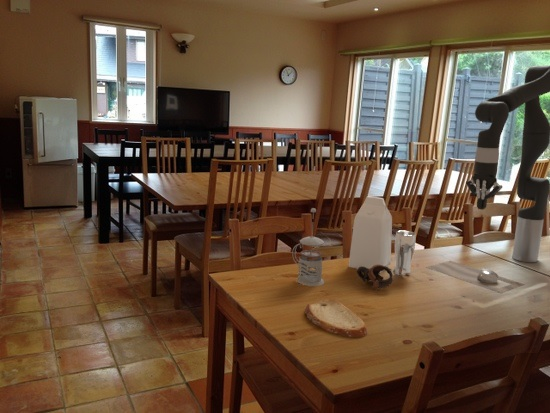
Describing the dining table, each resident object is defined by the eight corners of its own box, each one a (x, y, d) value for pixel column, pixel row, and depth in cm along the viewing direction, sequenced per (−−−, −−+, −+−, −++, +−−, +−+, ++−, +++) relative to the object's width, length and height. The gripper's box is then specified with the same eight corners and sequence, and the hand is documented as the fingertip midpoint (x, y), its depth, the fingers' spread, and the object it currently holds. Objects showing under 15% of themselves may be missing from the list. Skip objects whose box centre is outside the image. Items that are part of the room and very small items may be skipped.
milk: (390, 265, 184) (396, 197, 179) (379, 273, 175) (385, 202, 170) (360, 259, 191) (365, 193, 185) (348, 266, 181) (353, 197, 176)
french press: (315, 288, 158) (320, 212, 153) (285, 280, 164) (288, 207, 159) (329, 280, 166) (333, 207, 161) (299, 272, 172) (302, 203, 167)
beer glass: (410, 271, 179) (414, 231, 176) (413, 277, 172) (417, 236, 169) (391, 269, 179) (394, 230, 176) (393, 276, 172) (397, 235, 169)
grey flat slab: (450, 263, 189) (450, 260, 188) (524, 287, 166) (524, 284, 166) (425, 270, 180) (425, 267, 180) (500, 296, 157) (500, 292, 157)
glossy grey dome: (484, 274, 172) (487, 267, 171) (498, 284, 168) (502, 277, 167) (473, 277, 169) (477, 269, 168) (488, 287, 165) (491, 280, 164)
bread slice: (367, 340, 125) (368, 326, 125) (297, 330, 129) (298, 317, 128) (369, 312, 142) (370, 300, 142) (308, 304, 146) (309, 292, 146)
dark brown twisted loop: (390, 283, 167) (397, 267, 161) (384, 303, 160) (392, 288, 155) (356, 270, 169) (362, 254, 164) (349, 290, 162) (355, 274, 157)
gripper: (510, 161, 167) (504, 211, 171) (475, 157, 178) (470, 204, 182) (498, 163, 163) (493, 214, 167) (463, 159, 173) (458, 206, 177)
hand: (481, 208), depth 174 cm, fingers closed
